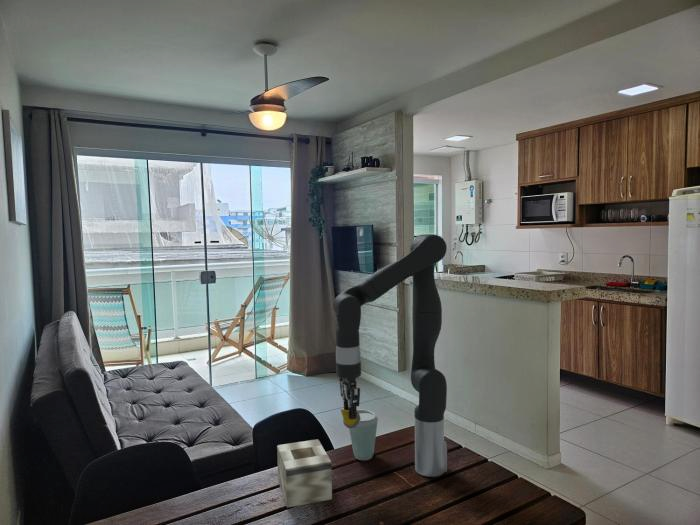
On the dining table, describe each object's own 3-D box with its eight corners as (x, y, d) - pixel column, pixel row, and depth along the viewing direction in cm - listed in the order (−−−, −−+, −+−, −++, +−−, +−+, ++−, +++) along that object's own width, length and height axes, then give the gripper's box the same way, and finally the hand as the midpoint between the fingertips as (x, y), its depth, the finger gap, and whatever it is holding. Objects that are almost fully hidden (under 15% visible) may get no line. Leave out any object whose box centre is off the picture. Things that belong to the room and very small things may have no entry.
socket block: (318, 472, 150) (317, 438, 150) (332, 500, 134) (331, 462, 134) (277, 479, 147) (276, 444, 146) (287, 508, 130) (286, 470, 130)
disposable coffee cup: (384, 453, 162) (383, 411, 162) (368, 467, 153) (367, 421, 153) (358, 447, 168) (357, 405, 167) (341, 459, 159) (340, 415, 158)
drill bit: (365, 428, 142) (349, 413, 136) (350, 435, 144) (333, 420, 138) (363, 413, 146) (347, 398, 140) (348, 419, 148) (332, 404, 142)
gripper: (368, 364, 136) (369, 422, 137) (353, 353, 150) (354, 406, 151) (343, 367, 134) (345, 426, 135) (330, 356, 148) (332, 409, 148)
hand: (350, 415), depth 143 cm, fingers closed on drill bit, 4 cm apart
